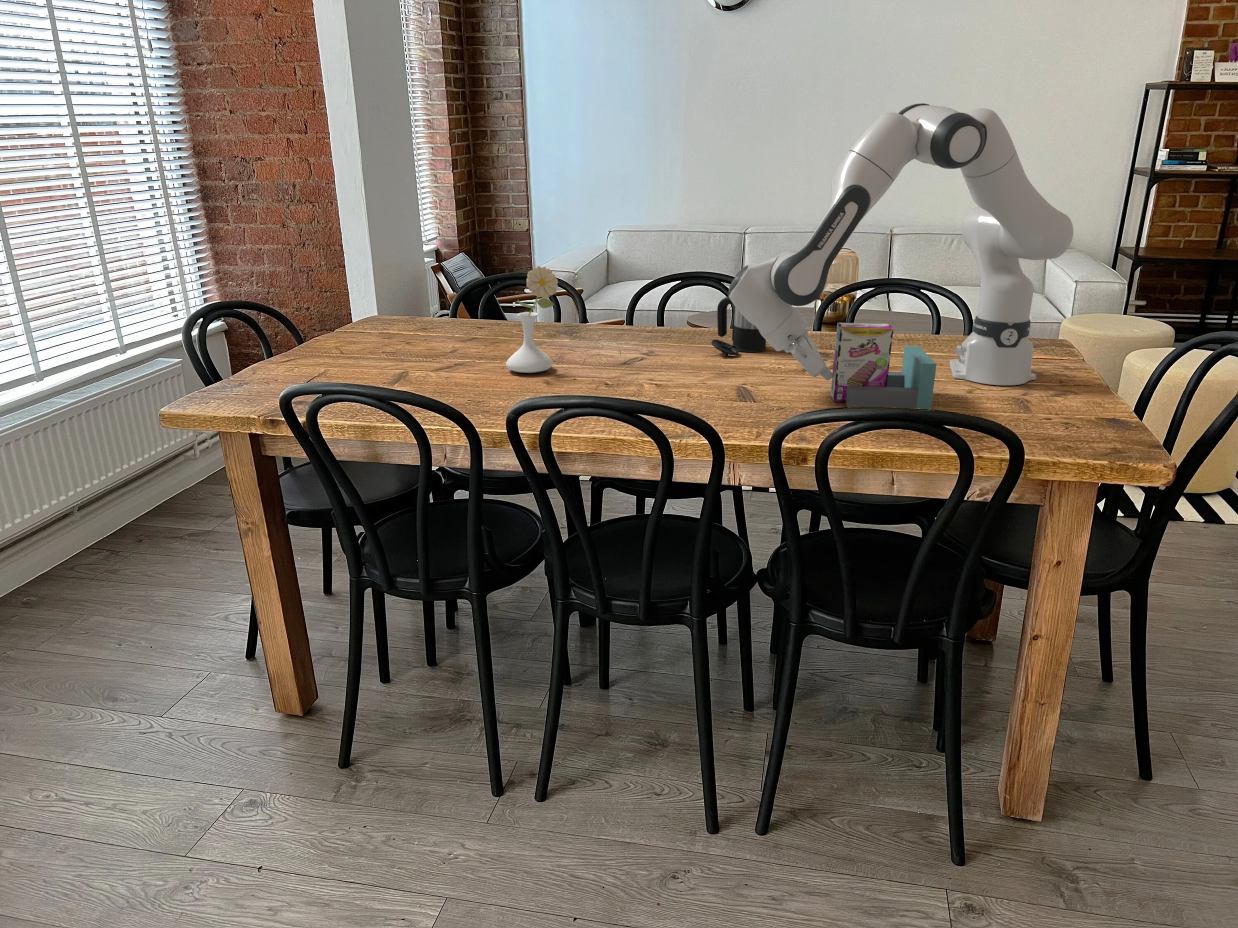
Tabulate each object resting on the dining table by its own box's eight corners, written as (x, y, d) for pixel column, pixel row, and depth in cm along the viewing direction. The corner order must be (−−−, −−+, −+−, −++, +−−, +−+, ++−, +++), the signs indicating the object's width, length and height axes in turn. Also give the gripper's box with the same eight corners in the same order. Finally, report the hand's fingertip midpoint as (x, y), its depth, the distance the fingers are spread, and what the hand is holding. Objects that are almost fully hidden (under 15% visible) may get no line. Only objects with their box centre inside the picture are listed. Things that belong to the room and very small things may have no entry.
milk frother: (767, 345, 247) (771, 290, 241) (765, 360, 232) (768, 301, 227) (714, 343, 249) (716, 289, 244) (709, 357, 235) (711, 299, 229)
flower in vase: (507, 377, 216) (502, 270, 207) (505, 365, 227) (500, 263, 218) (562, 375, 218) (559, 269, 209) (557, 363, 229) (555, 262, 220)
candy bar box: (833, 403, 196) (839, 327, 190) (829, 396, 201) (835, 322, 195) (886, 403, 196) (894, 327, 190) (881, 397, 200) (889, 322, 195)
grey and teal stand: (836, 388, 207) (840, 344, 204) (913, 389, 206) (918, 345, 202) (848, 408, 192) (852, 362, 189) (930, 410, 191) (936, 363, 187)
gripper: (803, 331, 185) (848, 379, 188) (793, 312, 204) (834, 355, 207) (779, 353, 187) (824, 400, 190) (772, 331, 206) (812, 374, 209)
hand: (829, 376), depth 198 cm, fingers closed, pressing on candy bar box
